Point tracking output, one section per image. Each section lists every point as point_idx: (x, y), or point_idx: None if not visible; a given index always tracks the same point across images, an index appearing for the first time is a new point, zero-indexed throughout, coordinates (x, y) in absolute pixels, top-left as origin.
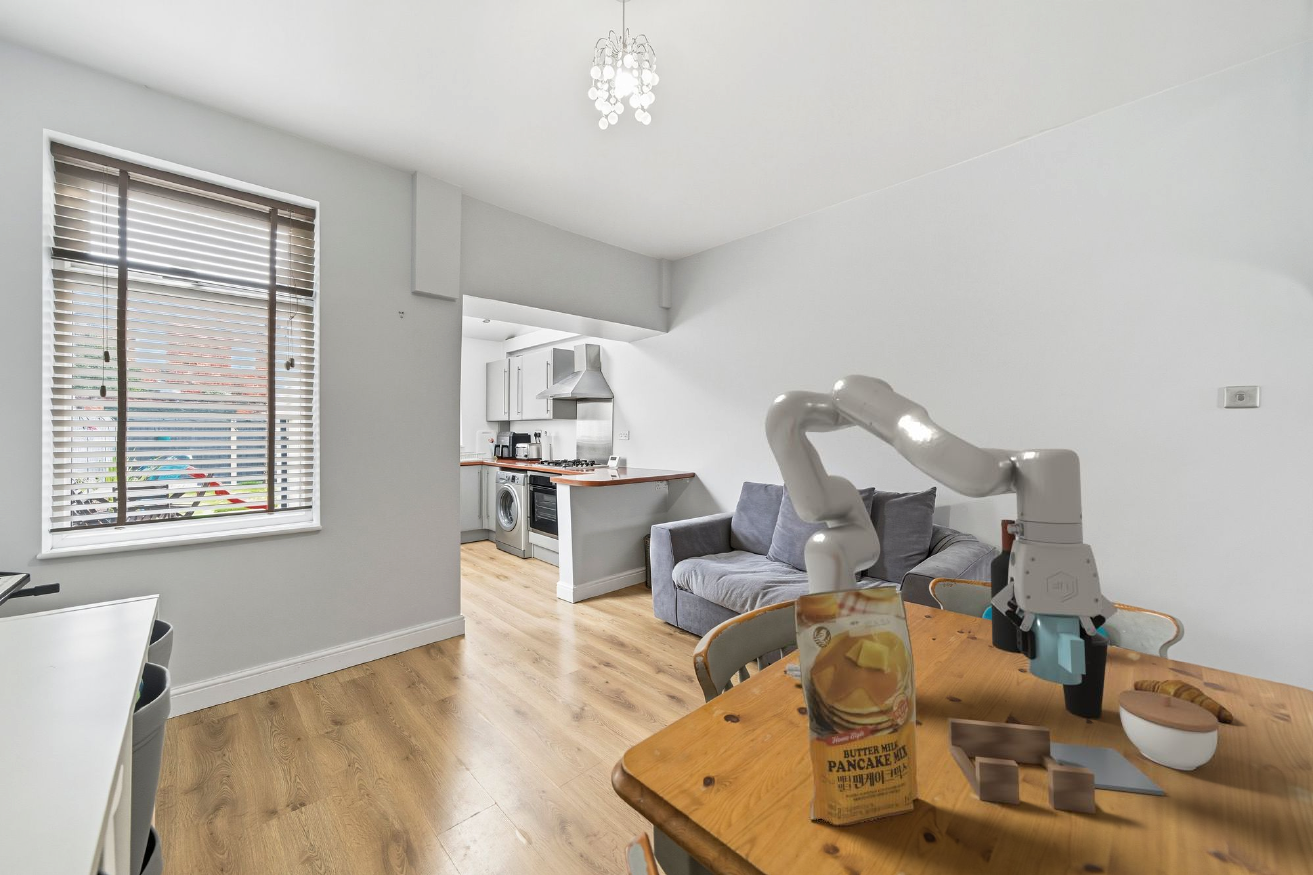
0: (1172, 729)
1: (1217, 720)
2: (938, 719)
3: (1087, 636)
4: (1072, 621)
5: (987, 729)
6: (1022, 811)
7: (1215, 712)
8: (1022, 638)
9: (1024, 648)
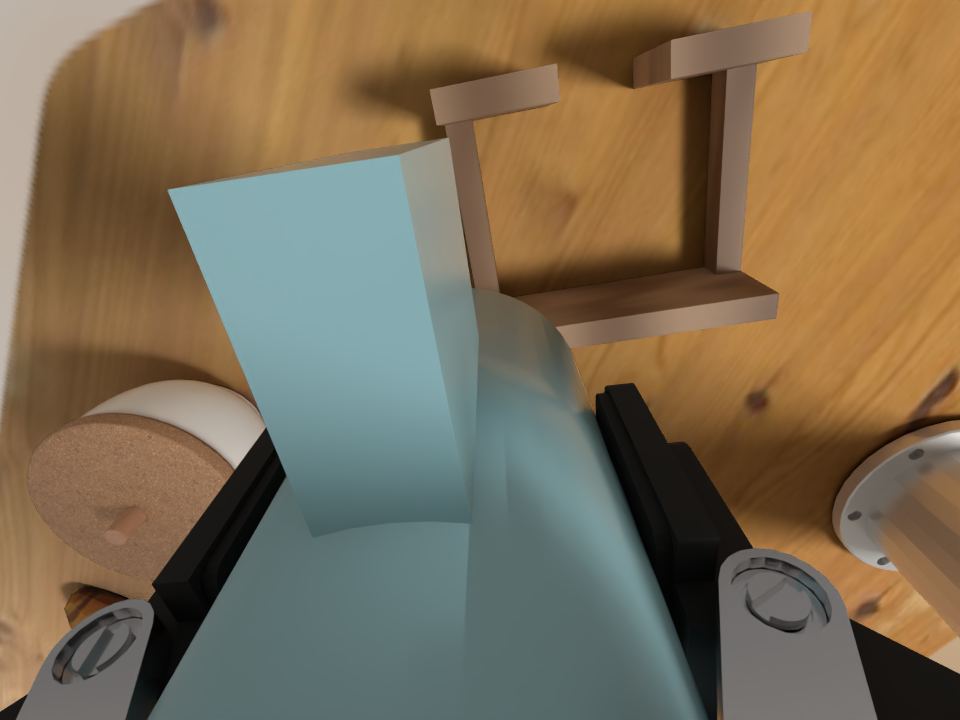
0: (151, 415)
1: (27, 474)
2: (690, 432)
3: (171, 577)
4: (202, 712)
5: (657, 305)
6: (636, 22)
7: (90, 605)
8: (720, 505)
9: (673, 447)
